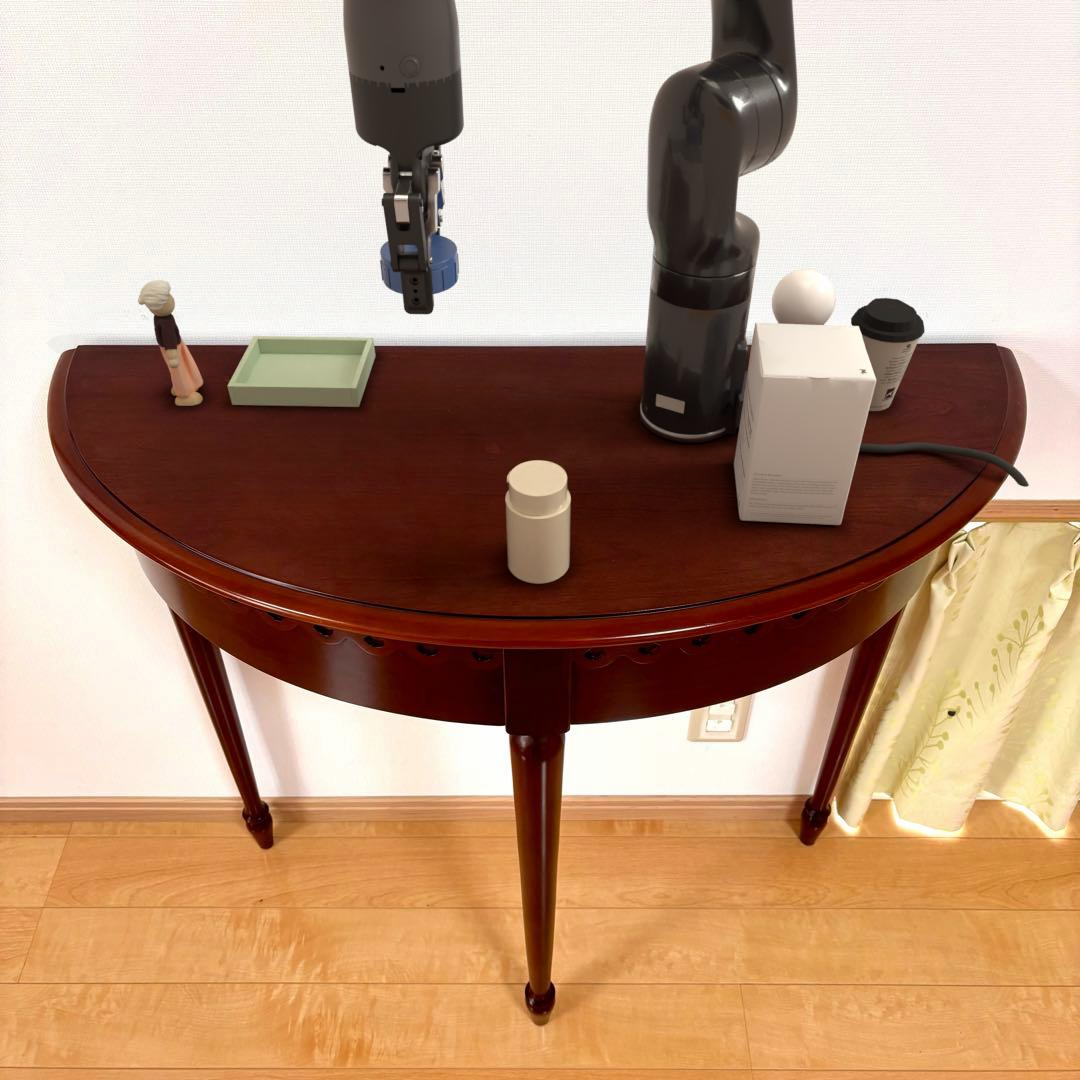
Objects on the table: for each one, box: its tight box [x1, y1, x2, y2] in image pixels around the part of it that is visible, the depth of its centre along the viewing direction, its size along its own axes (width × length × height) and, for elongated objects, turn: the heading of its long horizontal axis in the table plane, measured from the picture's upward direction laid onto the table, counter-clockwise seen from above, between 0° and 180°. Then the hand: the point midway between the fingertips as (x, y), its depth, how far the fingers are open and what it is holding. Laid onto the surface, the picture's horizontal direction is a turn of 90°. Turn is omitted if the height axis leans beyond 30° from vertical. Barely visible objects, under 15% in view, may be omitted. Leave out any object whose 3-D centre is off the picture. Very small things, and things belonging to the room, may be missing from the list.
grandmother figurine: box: [137, 279, 204, 407], centre depth 96 cm, size 8×4×13 cm, turn 34°
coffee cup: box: [850, 297, 926, 412], centre depth 96 cm, size 7×7×10 cm
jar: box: [504, 459, 572, 585], centre depth 78 cm, size 5×5×9 cm
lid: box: [379, 234, 460, 295], centre depth 74 cm, size 6×6×2 cm
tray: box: [226, 335, 377, 408], centre depth 102 cm, size 13×10×2 cm
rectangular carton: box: [733, 321, 876, 526], centre depth 82 cm, size 9×9×15 cm
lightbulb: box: [771, 268, 837, 325], centre depth 100 cm, size 6×6×11 cm
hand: (424, 291), depth 75 cm, fingers closed on lid, 5 cm apart
